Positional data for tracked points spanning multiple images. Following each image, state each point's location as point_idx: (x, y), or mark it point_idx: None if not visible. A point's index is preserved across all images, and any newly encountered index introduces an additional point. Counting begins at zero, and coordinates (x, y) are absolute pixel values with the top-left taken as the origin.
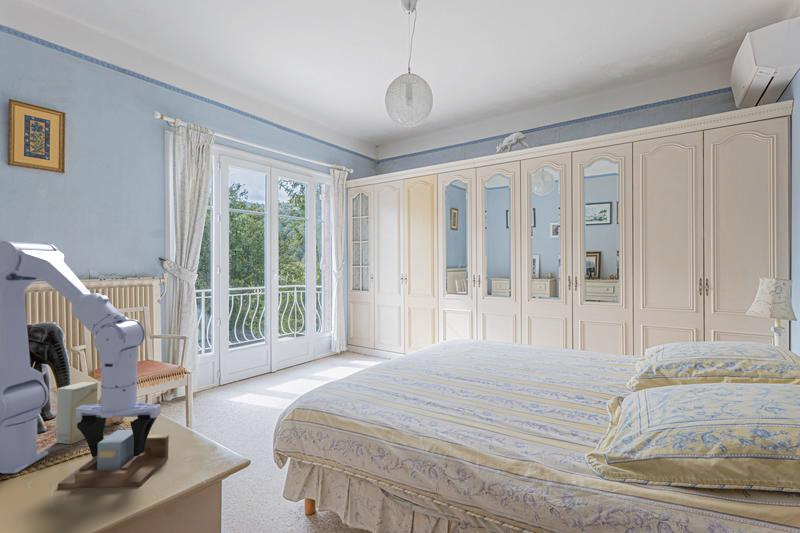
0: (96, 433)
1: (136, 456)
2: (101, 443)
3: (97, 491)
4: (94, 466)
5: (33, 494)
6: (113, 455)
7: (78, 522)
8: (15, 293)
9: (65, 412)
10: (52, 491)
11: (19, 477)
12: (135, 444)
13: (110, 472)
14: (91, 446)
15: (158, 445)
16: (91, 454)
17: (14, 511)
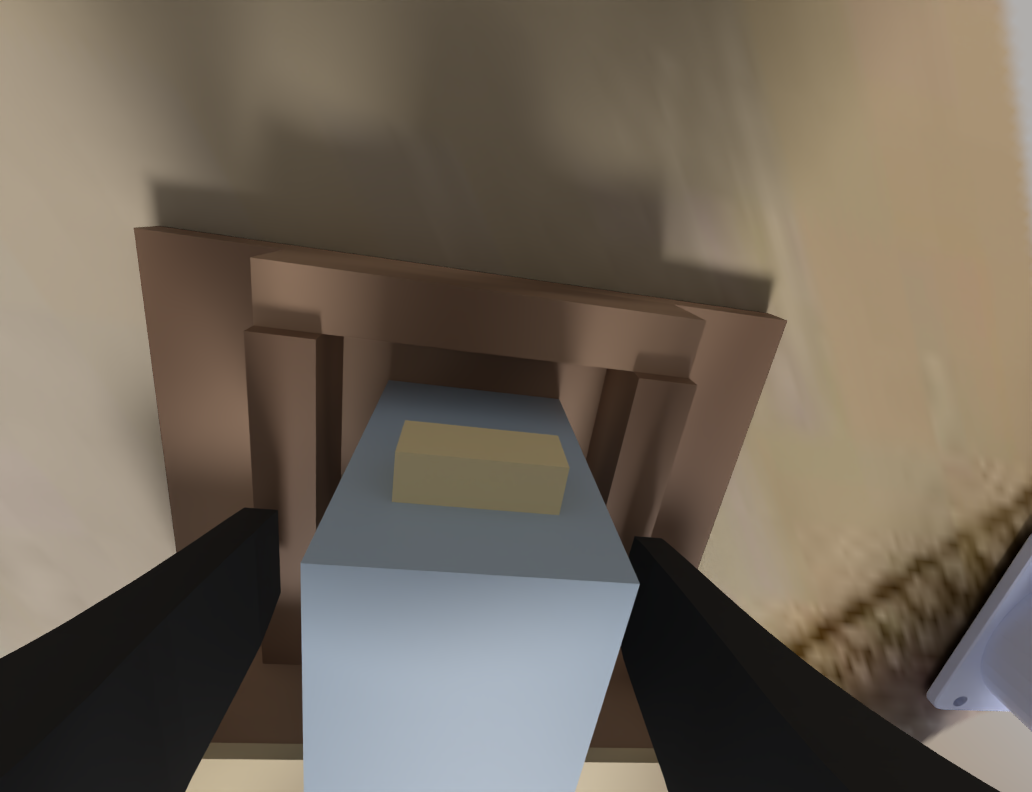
0: (742, 781)
1: (299, 538)
2: (585, 574)
3: (471, 205)
4: (604, 458)
5: (890, 254)
6: (401, 435)
7: None
8: None
9: None
10: (786, 273)
11: (1007, 485)
12: (170, 583)
13: (400, 298)
14: (709, 602)
15: None
16: (674, 550)
17: (956, 2)
